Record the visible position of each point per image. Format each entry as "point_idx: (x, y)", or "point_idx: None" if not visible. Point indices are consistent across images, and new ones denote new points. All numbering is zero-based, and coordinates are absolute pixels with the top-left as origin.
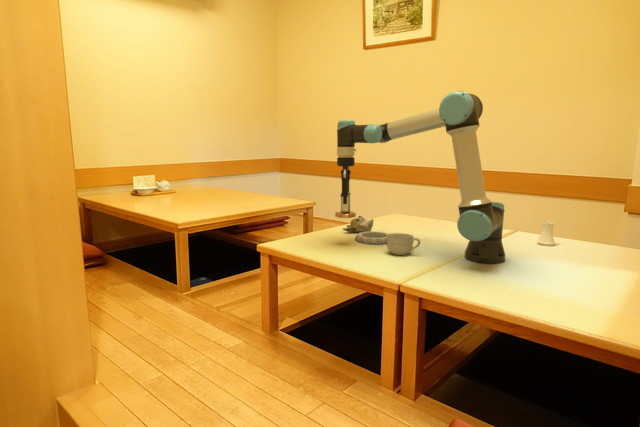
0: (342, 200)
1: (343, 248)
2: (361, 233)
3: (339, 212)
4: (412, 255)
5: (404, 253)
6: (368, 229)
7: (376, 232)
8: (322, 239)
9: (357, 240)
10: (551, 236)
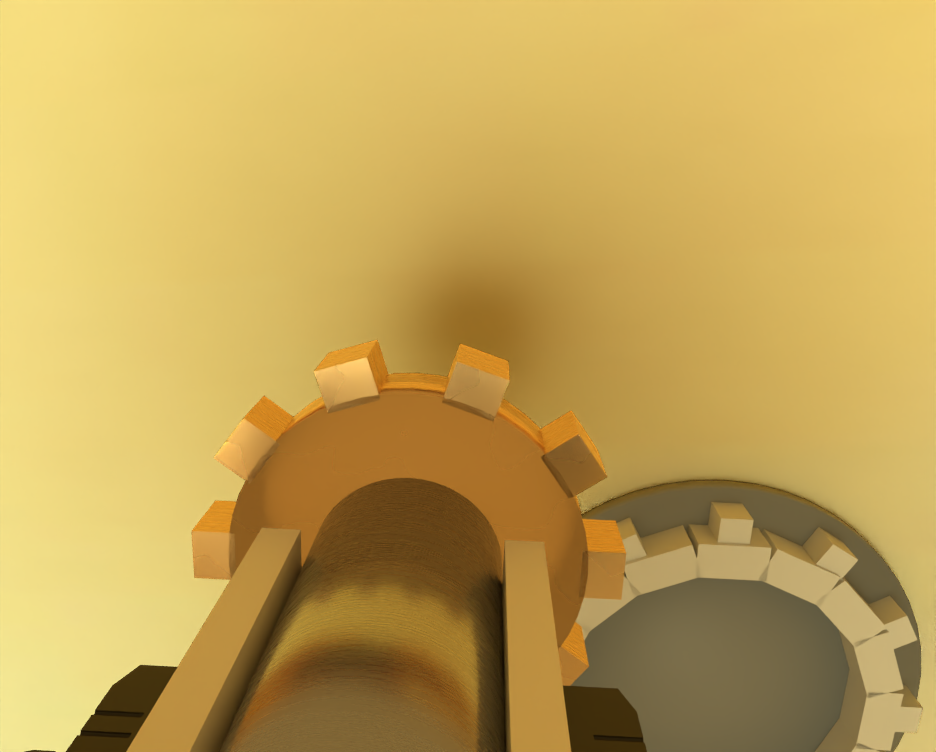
0: (162, 703)
1: (283, 361)
2: (786, 579)
3: (454, 446)
4: None
5: None
6: None
7: (855, 736)
8: (709, 70)
9: (601, 512)
10: None
